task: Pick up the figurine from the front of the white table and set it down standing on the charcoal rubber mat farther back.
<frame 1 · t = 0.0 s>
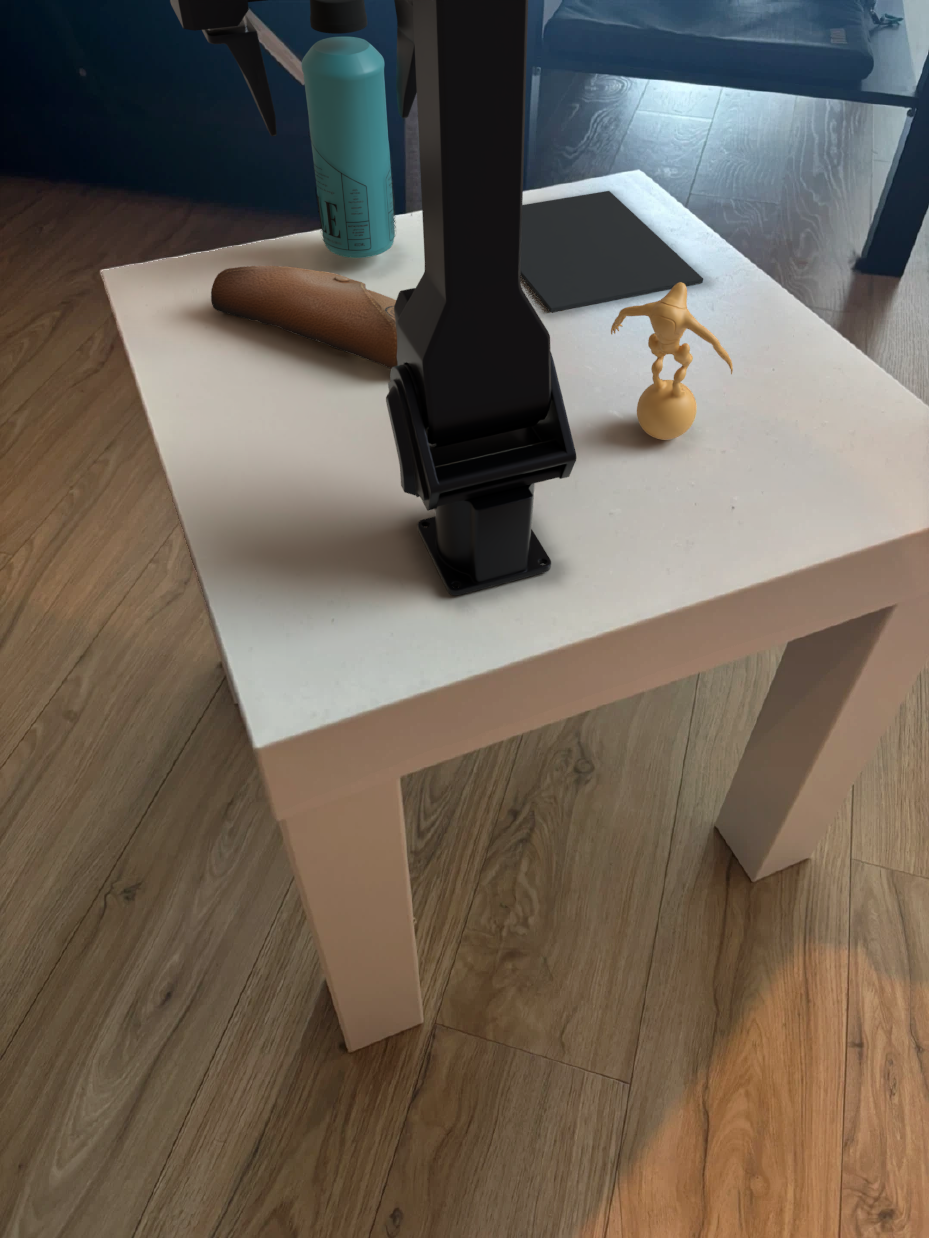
hand: (338, 125, 64), 15 cm above the table, tool pointing down, fingers open, 9 cm apart
sunglasses case: (334, 328, 74), on the table
mat: (582, 248, 83), on the table
figurine: (655, 443, 65), on the table
beverage bottle: (360, 260, 82), on the table
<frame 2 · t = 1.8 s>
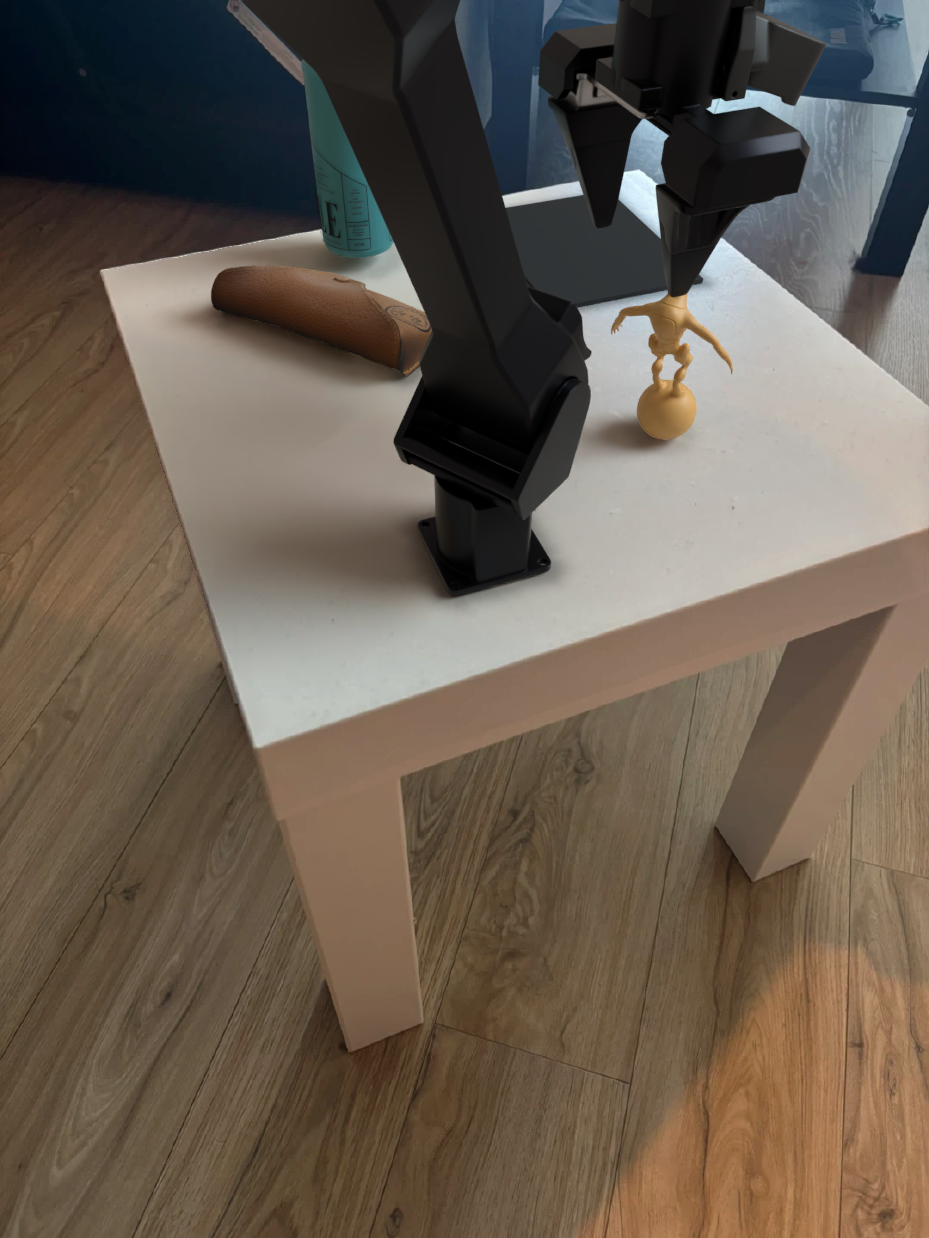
hand: (638, 259, 57), 12 cm above the table, tool pointing down, fingers open, 9 cm apart
nothing on the table moved.
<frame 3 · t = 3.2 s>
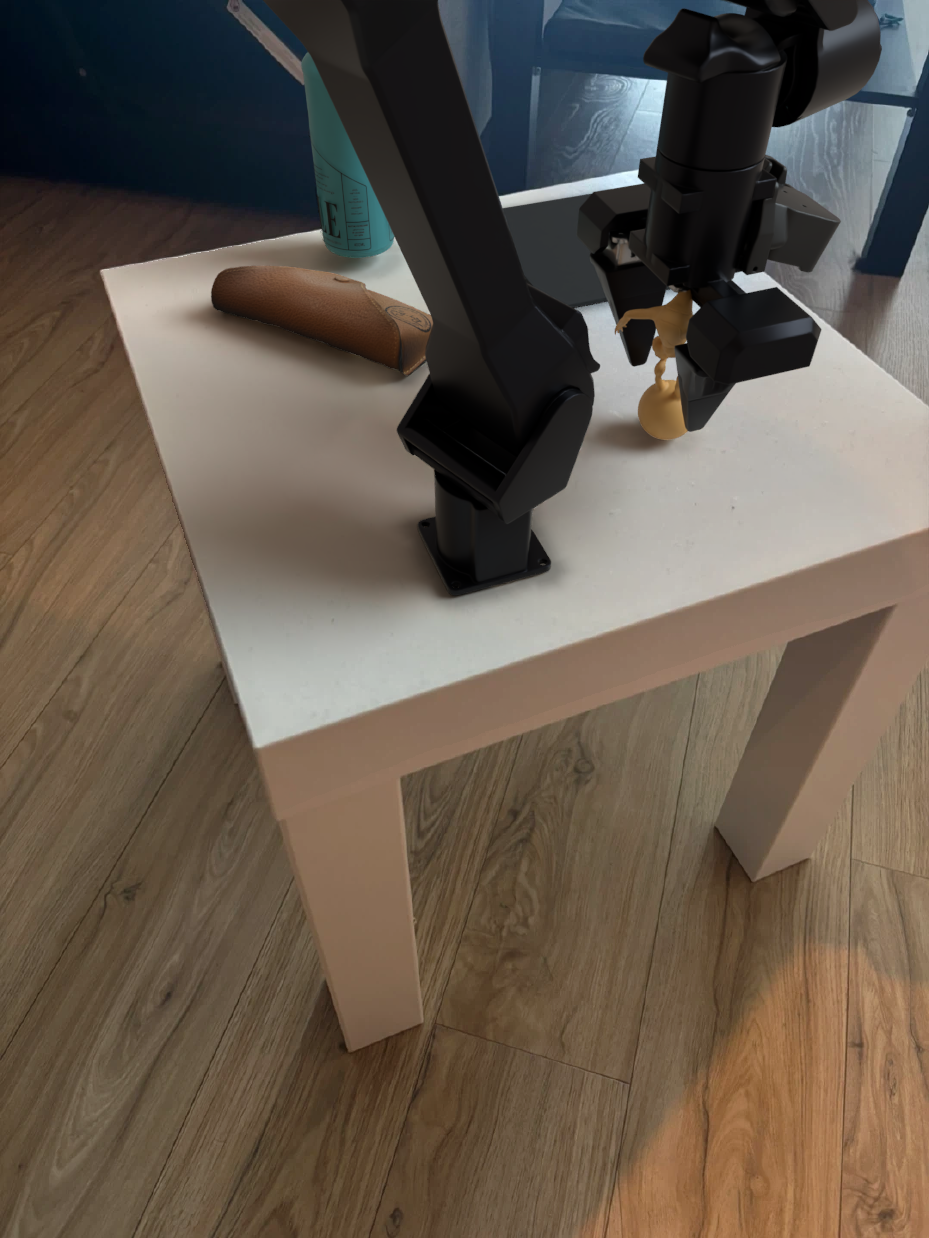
hand: (665, 395, 62), 4 cm above the table, tool pointing down, fingers closed on figurine, 7 cm apart
figurine: (655, 443, 65), on the table, touching gripper
everything else where it was.
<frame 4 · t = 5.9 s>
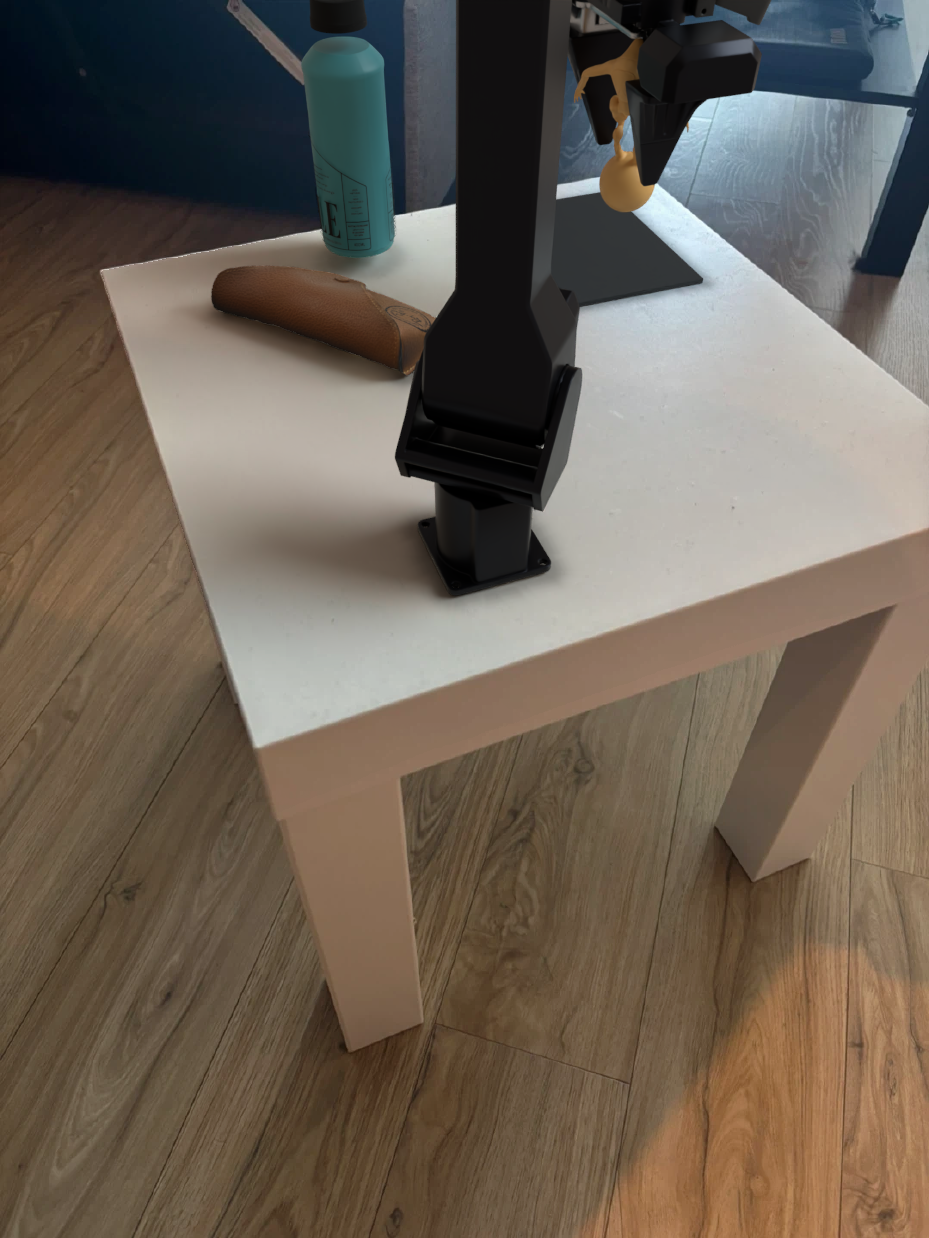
hand: (625, 163, 65), 12 cm above the table, tool pointing down, fingers closed on figurine, 7 cm apart
figurine: (617, 217, 69), point 8 cm above the table, touching gripper
everything else where it was.
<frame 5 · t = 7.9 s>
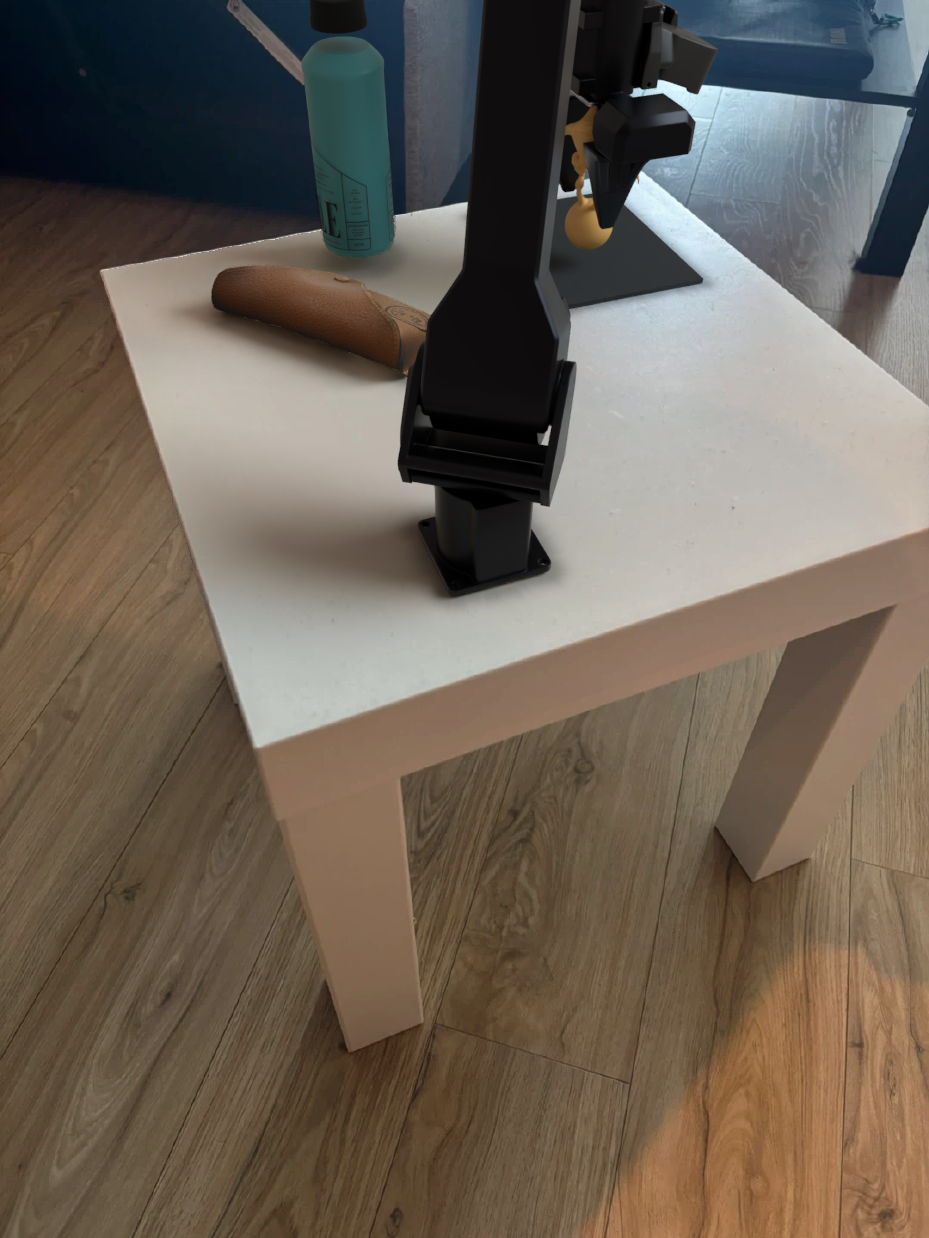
hand: (587, 209, 76), 6 cm above the table, tool pointing down, fingers closed on figurine, 7 cm apart
figurine: (580, 254, 79), point 2 cm above the table, touching gripper
everything else where it was.
when the fingers open (4 cm above the table, at t = 8.9 s): figurine stays where it is, resting on mat.
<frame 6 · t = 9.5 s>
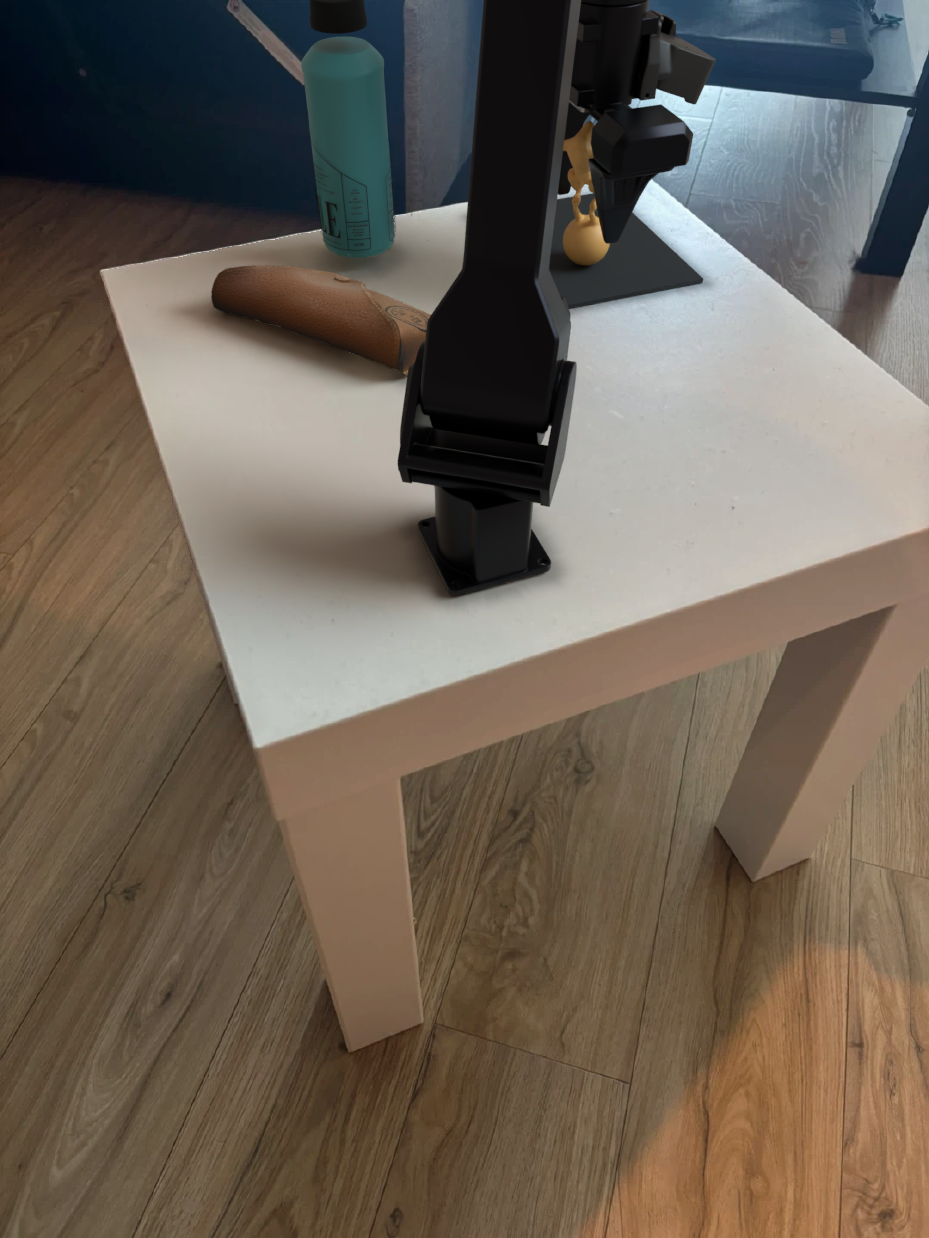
hand: (586, 217, 76), 5 cm above the table, tool pointing down, fingers open, 9 cm apart
figurine: (578, 270, 80), resting on mat
everything else where it was.
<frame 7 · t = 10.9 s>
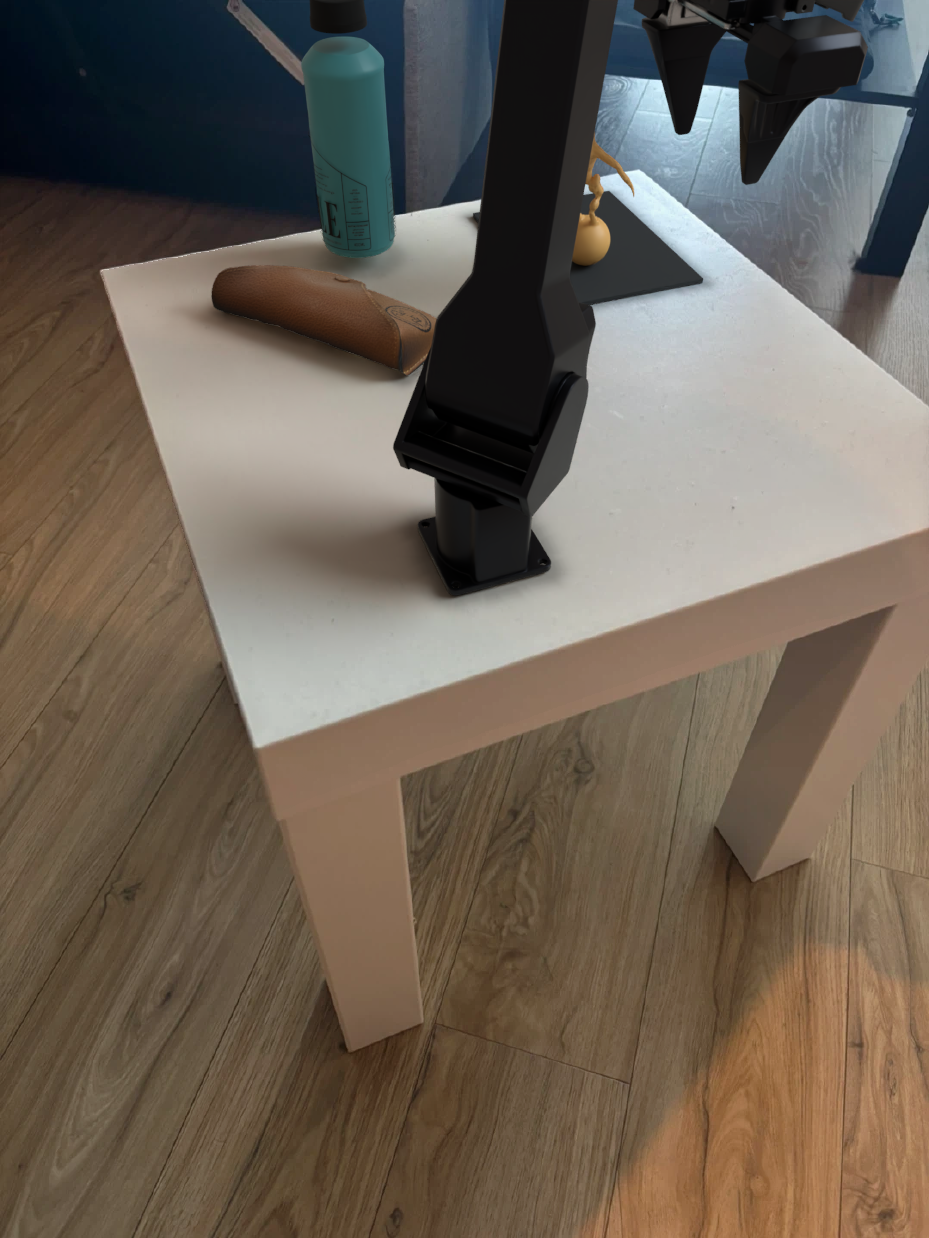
hand: (714, 157, 67), 12 cm above the table, tool pointing down, fingers open, 9 cm apart
nothing on the table moved.
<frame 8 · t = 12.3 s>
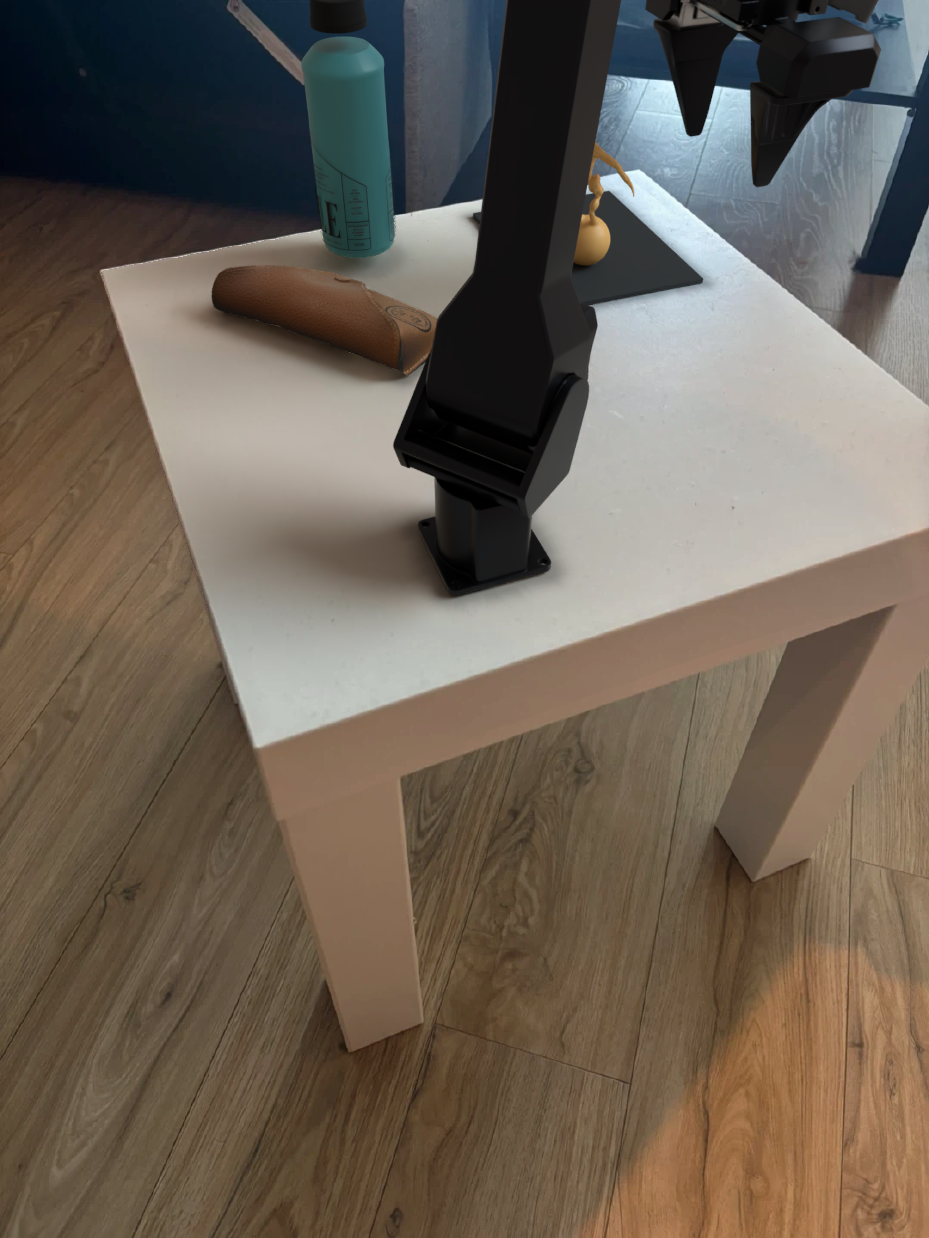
hand: (725, 159, 67), 12 cm above the table, tool pointing down, fingers open, 9 cm apart
nothing on the table moved.
at the end: figurine inside the target area on the mat (4.3 cm from its centre), point 0.2 cm above the mat's base; figurine tilted 0°; the gripper is holding nothing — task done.
